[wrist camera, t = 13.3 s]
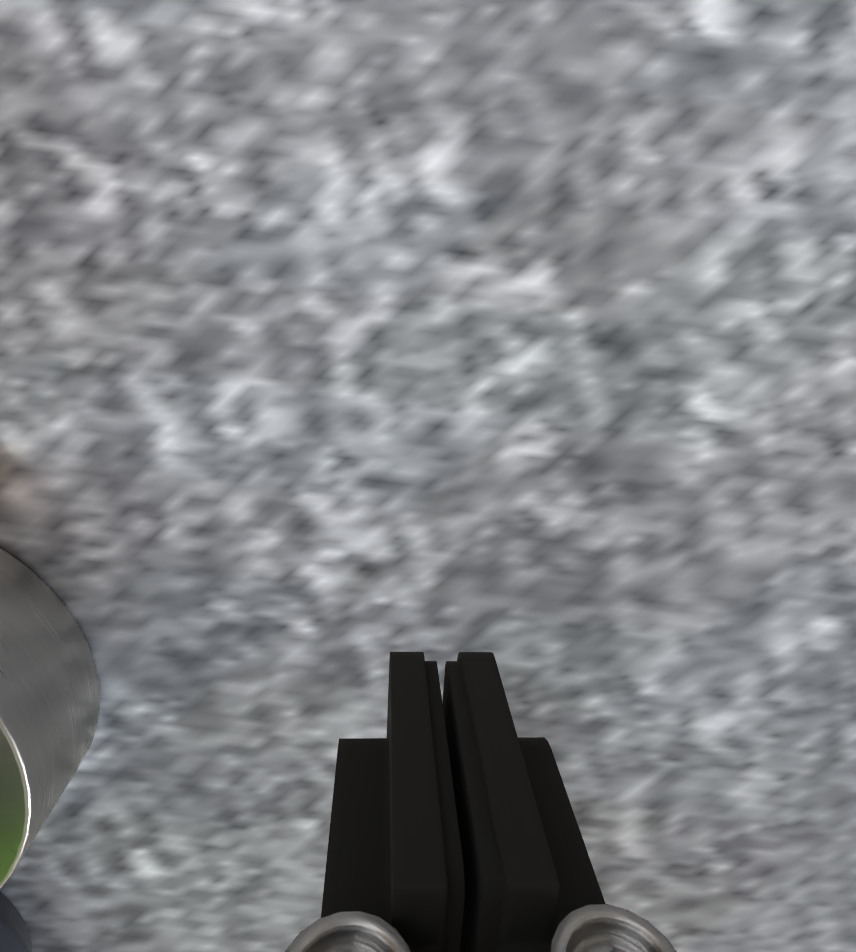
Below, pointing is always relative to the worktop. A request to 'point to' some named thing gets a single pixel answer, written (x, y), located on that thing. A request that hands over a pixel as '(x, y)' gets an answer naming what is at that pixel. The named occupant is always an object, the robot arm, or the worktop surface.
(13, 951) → the beverage can
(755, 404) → the worktop surface
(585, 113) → the worktop surface
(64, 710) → the brushed steel puck
